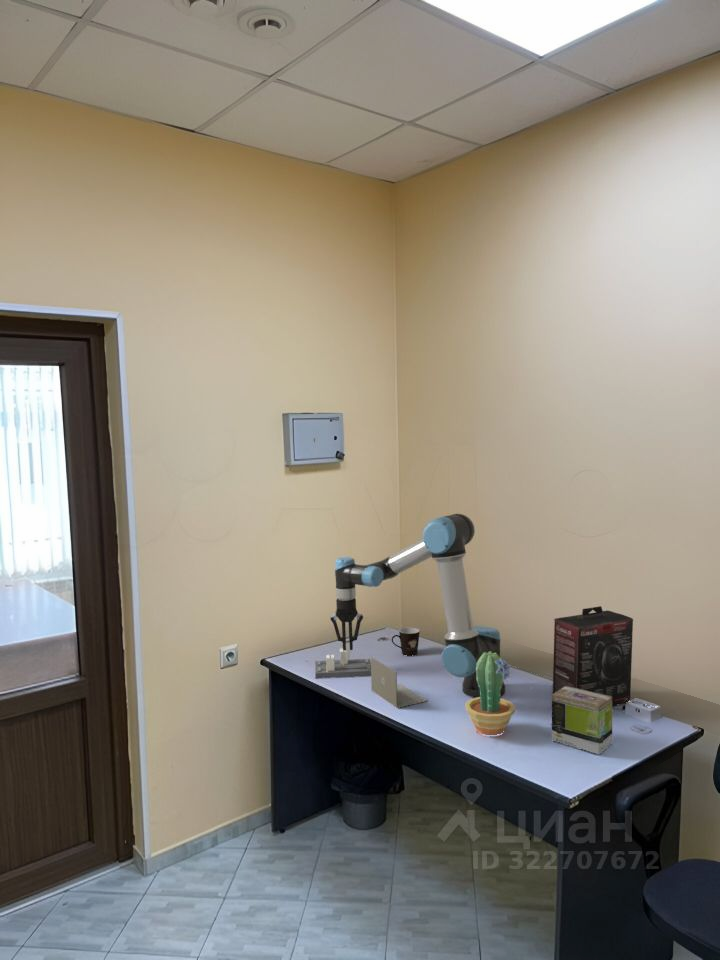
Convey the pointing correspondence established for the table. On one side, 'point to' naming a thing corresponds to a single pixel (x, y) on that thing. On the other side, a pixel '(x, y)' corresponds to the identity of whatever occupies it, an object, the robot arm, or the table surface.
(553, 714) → the tea box
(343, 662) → the fader
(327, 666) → the fader
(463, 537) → the robot arm
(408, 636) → the coffee mug
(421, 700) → the laptop
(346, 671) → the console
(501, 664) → the potted cactus
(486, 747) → the table surface
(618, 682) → the headset box
